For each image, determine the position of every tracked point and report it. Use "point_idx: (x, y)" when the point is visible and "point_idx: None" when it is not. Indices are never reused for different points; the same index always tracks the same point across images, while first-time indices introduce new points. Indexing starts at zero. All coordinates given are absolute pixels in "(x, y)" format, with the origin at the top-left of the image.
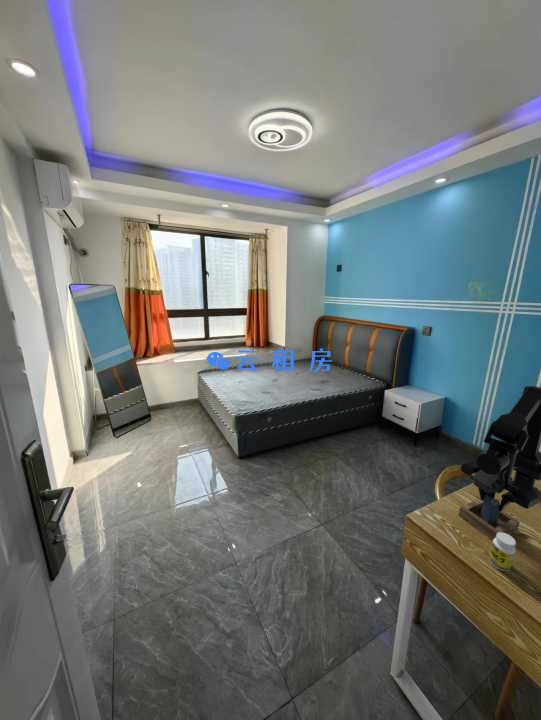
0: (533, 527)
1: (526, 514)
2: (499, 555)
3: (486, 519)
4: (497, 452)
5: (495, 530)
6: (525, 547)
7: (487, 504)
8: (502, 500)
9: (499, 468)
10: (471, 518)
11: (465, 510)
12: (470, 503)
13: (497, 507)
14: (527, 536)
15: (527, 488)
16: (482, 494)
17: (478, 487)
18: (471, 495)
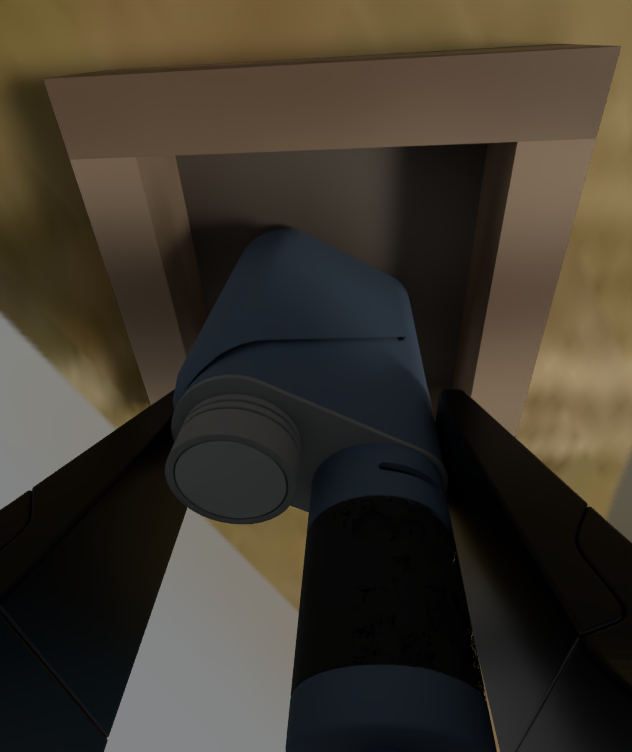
0: None
1: (280, 553)
2: None
3: (315, 251)
4: None
5: (98, 119)
6: (37, 291)
7: (339, 367)
8: (2, 572)
9: None
10: (400, 56)
11: (526, 73)
12: (544, 293)
13: (182, 403)
14: (132, 404)
15: None
16: (470, 460)
17: (628, 556)
18: (588, 450)
